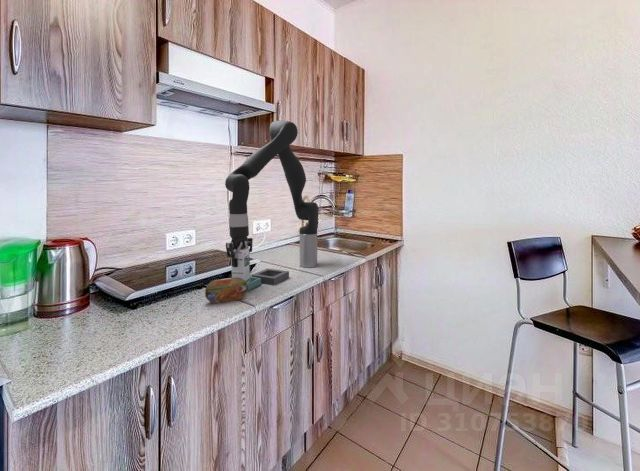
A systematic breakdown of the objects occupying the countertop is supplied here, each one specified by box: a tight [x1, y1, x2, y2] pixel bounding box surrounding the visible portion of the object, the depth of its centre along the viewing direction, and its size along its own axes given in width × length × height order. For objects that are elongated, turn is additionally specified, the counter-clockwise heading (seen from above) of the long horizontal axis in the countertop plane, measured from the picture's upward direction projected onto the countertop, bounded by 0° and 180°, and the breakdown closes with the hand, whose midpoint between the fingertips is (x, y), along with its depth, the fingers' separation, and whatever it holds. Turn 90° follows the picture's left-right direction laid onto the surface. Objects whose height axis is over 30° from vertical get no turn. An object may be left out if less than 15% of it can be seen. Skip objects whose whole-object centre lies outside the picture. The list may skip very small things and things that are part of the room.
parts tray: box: [247, 277, 262, 293], centre depth 129 cm, size 12×12×3 cm
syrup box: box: [230, 247, 252, 283], centre depth 128 cm, size 6×6×14 cm
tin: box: [204, 277, 249, 304], centre depth 114 cm, size 15×3×8 cm, turn 114°
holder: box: [250, 268, 290, 286], centre depth 140 cm, size 12×12×3 cm
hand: (240, 264), depth 128 cm, fingers closed on syrup box, 6 cm apart
